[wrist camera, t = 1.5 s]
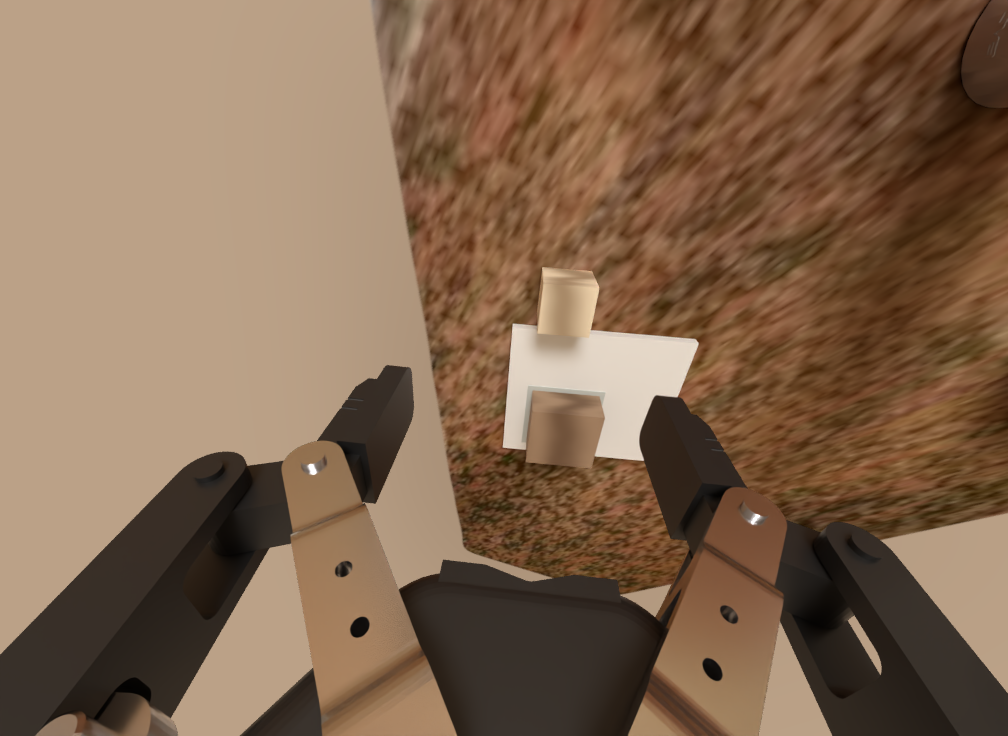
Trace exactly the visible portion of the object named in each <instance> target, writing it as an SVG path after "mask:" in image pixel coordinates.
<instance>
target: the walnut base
mask: <svg viewBox="0 0 1008 736" xmlns="http://www.w3.org/2000/svg"><path fill="white" fill-rule="evenodd" d="M604 420H605V416H604V412H603V408H602V404H601V400H600V396H591V395H580V394H569V393H558V392H546V391H535V390H533V391H532V399H531V407H530V415H529V422H528V430H527V438H526V462H529V463H540V464H550V465H561V466H571V467H582V468H592V464H593V460H594V457H595V453H596V449H597V446H598V442H599V438H600V435H601V431H602V427H603V424H604Z"/></svg>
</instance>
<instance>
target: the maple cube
mask: <svg viewBox="0 0 1008 736" xmlns="http://www.w3.org/2000/svg"><path fill="white" fill-rule="evenodd" d="M598 293H599V286H598V284H597V282H596V279H595V277H594V275H593V272H592V271H583V270H571V269H559V268H546V267H542V275H541V283H540V292H539V300H538V308H537V333H538V334H550V335H561V336H573V337H585V338H589V335H590V331H591V326H592V321H593V316H594V312H595V307H596V302H597V297H598Z"/></svg>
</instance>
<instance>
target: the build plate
mask: <svg viewBox="0 0 1008 736" xmlns="http://www.w3.org/2000/svg"><path fill="white" fill-rule="evenodd" d="M698 344H699V343H698V342H697V341H696V339H688V338H676V337H664V336H652V335H640V334H629V333H617V332H605V331H593V330H591V331H590V335H589V338H585V337H573V336H561V335H550V334H538V333H537V326H535V325H523V324H513V328H512V341H511V353H510V365H509V378H508V390H507V403H506V415H505V427H504V440H503V448H512V449H523V450H526V438H527V430H528V422H529V415H530V407H531V399H532V391H533V390H535V391H546V392H558V393H569V394H580V395H591V396H600V400H601V404H602V408H603V412H604V416H605V420H604V424H603V427H602V431H601V435H600V438H599V442H598V446H597V449H596V453H595V456H597V457H608V458H619V459H629V460H640V461H644V459H643V456H642V453H641V450H640V445H639V436H640V431H641V428H642V425H643V423H644V420H645V418H646V415H647V412H648V410H649V407H650V405H651V402H652V400H653V398H654V397H655V396H656V395H660V396H669V397H678V395H679V392H680V390H681V387H682V384H683V382H684V379H685V377H686V374H687V372H688V369H689V367H690V364H691V362H692V359H693V357H694V354H695V352H696V349H697V347H698Z"/></svg>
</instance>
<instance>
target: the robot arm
mask: <svg viewBox="0 0 1008 736" xmlns="http://www.w3.org/2000/svg"><path fill="white" fill-rule="evenodd" d="M961 76H962V83H963V87H964V89H965V91H966V93H967V95H968V97H970V98H971V99H972V100H973V101H974V102H975V103H977V104H980V105H982V106H985V107H990V108H1008V0H991V1H990V3H989V4H988V6H987V7H986V9H985V10H984V12H983V13H982V15H981V16H980V18H979V20H978V21H977V23H976V25H975V27H974V29H973V31H972V33H971V35H970V37H969V39H968V42H967V45H966V49H965V52H964V55H963V59H962V69H961ZM413 410H414V401H413V386H412V372H411V369H410V368H409V367H400V366H389V365H387V366H385V368H384V369H383V371H382V372H381V374H380V375H379V377H378V378H377V379H367V380H366V381H364V382H363V383H361V384H360V385H358V386H356V387H355V389H354V390H353V391H352V393H351V394H350V396H349V397H348V400H346V401H345V403H344V404H343V405H342V408H341V409H340V410H339V411H338V412H337V414H336V415H335V417H334V418H333V419H332V421H331V422H330V423H329V425H328V426H327V428H326V429H325V430H324V432H323V433H322V435H321V436H320V437H319V439H318V440H317V441H314V442H310V443H307V444H304V445H302V446H300V447H298V448H296V449H295V450H293V451H292V452H291V453H290V454H289V455H288V456H287V457H286V458H285V460H284V461H279V462H273V463H266V464H258V465H250V466H247V464H246V461H245V459H244V458H243V457H242V456H241V455H239V454H238V453H234V452H218V453H213V454H210V455H206V456H204V457H201V458H199V459H197V460H195V461H193V462H191V463H190V464H188V465H187V466H186V467H184V468H183V469H182V470H181V471H180V472H179V473H178V474H177V475H176V476H175V477H174V478H173V479H172V480H171V481H170V482H169V483H168V484H167V485H166V486H165V487H164V488H163V489H162V490H161V491H160V492H159V493H158V494H157V495H156V496H155V497H154V498H153V499H152V500H151V501H150V502H149V503H148V504H147V506H145V508H143V510H142V511H141V512H140V513H139V514H138V515H137V516H136V517H135V518H134V519H133V520H132V521H131V522H130V523H129V524H128V525H127V526H126V527H125V528H124V529H123V530H122V531H121V532H120V533H119V534H118V535H117V536H116V537H115V538H114V539H113V540H112V541H111V542H110V543H109V544H108V545H107V546H106V547H105V548H104V549H103V550H102V551H101V552H100V553H99V554H98V555H97V556H96V557H95V559H94V560H93V561H92V562H91V563H90V564H89V565H88V566H87V567H86V568H85V569H84V570H83V571H82V572H81V573H80V574H79V575H78V576H77V577H76V578H75V579H74V580H73V581H72V582H71V583H70V584H69V585H68V586H67V587H66V588H65V589H64V590H63V591H62V592H61V593H60V595H58V596H57V597H56V598H55V599H54V600H53V601H52V602H51V604H49V605H48V607H47V608H46V609H45V610H44V611H43V612H42V613H41V614H40V615H39V616H38V617H37V618H36V619H35V620H34V621H33V622H32V623H31V624H30V625H29V626H28V627H27V628H26V629H25V630H24V631H23V632H22V633H21V634H20V635H19V636H18V637H17V638H16V639H15V640H14V641H13V642H12V644H10V645H9V646H8V647H7V648H6V649H5V650H4V651H3V653H2V654H0V736H178V732H177V728H176V725H175V723H174V721H173V720H171V717H172V715H173V713H174V711H175V710H176V708H177V706H178V705H179V703H180V701H181V699H182V698H183V696H184V694H185V693H186V691H187V689H188V687H189V686H190V684H191V682H192V680H193V679H194V677H195V675H196V673H197V672H198V670H199V668H200V667H201V665H202V663H203V661H204V660H205V658H206V656H207V655H208V653H209V651H210V649H211V648H212V646H213V644H214V643H215V641H216V639H217V637H218V636H219V634H220V632H221V630H222V629H223V627H224V625H225V623H226V622H227V620H228V618H229V617H230V615H231V613H232V612H233V610H234V608H235V606H236V604H237V603H238V601H239V599H240V597H241V596H242V594H243V593H244V591H245V589H246V587H247V586H248V584H249V582H250V580H251V579H252V577H253V575H254V574H255V572H256V570H257V568H258V567H259V565H260V563H261V561H262V560H263V558H264V556H265V555H266V553H267V551H268V549H269V548H270V547H276V546H281V545H286V544H291V545H292V550H293V556H294V562H295V567H296V573H297V579H298V584H299V590H300V595H301V602H302V607H303V613H304V618H305V624H306V630H307V635H308V641H309V647H310V652H311V658H312V664H313V668H312V669H311V670H310V671H309V672H308V673H307V674H306V675H304V676H303V677H302V678H301V679H300V680H299V681H298V682H297V683H296V684H295V685H294V686H293V687H292V688H291V689H289V690H288V691H287V692H286V693H285V694H284V695H283V696H282V697H281V698H280V699H279V700H278V701H277V702H275V704H274V705H272V706H271V707H270V708H269V709H268V710H267V711H266V712H265V713H264V714H263V715H262V716H261V717H259V718H258V719H257V720H256V721H255V722H254V723H253V724H252V725H251V726H250V727H249V728H248V729H247V730H246V731H244V732H243V733H242V734H241V735H240V736H758V735H759V730H760V725H761V719H762V714H763V709H764V703H765V698H766V692H767V687H768V682H769V676H770V671H771V666H772V660H773V655H774V650H775V644H776V639H777V633H778V628H779V622H781V624H782V626H783V629H784V631H785V633H786V635H787V637H788V639H789V642H790V644H791V646H792V648H793V650H794V652H795V655H796V657H797V659H798V661H799V663H800V665H801V668H802V670H803V672H804V674H805V677H806V679H807V681H808V683H809V685H810V688H811V690H812V692H813V694H814V696H815V698H816V701H817V703H818V705H819V707H820V709H821V712H822V714H823V716H824V718H825V720H826V723H827V725H828V727H829V729H830V731H831V733H832V736H1008V693H1007V692H1006V691H1005V689H1004V688H1003V687H1002V686H1001V684H1000V683H999V682H998V681H997V680H996V678H995V677H994V676H993V675H992V673H991V672H990V671H989V670H988V668H987V667H986V666H985V665H984V663H983V662H982V661H981V660H980V659H979V657H978V656H977V655H976V654H975V652H974V651H973V650H972V649H971V647H970V646H969V645H968V644H967V643H966V641H965V640H964V639H963V638H962V636H961V635H960V634H959V633H958V631H957V630H956V629H955V628H954V627H953V625H952V624H951V623H950V622H949V620H948V619H947V618H946V617H945V615H944V614H943V613H942V612H941V610H940V609H939V608H938V607H937V605H936V604H935V603H934V602H933V601H932V599H931V598H930V597H929V596H928V594H927V593H926V592H925V591H924V590H923V588H922V587H921V586H920V585H919V583H918V582H917V581H916V579H915V578H914V577H913V576H912V575H911V573H910V572H909V571H908V570H907V569H906V567H905V566H904V565H903V564H902V562H901V561H900V560H899V559H898V557H897V556H896V555H895V554H894V553H893V551H892V550H891V549H889V548H888V547H887V546H886V545H885V544H884V543H883V542H882V541H880V540H879V539H878V538H876V537H875V536H873V535H872V534H870V533H869V532H867V531H865V530H863V529H861V528H859V527H856V526H854V525H851V524H848V523H843V522H833V523H830V524H829V525H828V526H827V527H826V528H825V529H824V530H823V531H822V532H818V531H815V530H812V529H810V528H807V527H804V526H801V525H798V524H796V523H793V522H790V521H788V520H786V519H785V517H784V515H783V513H782V512H781V511H780V509H779V508H778V507H777V506H776V505H775V504H774V503H773V502H771V501H770V500H769V499H767V498H766V497H764V496H763V495H761V494H759V493H757V492H755V491H753V490H750V489H747V487H746V485H745V484H744V482H743V480H742V479H741V477H740V476H739V474H738V472H737V471H736V469H735V467H734V466H733V464H732V462H731V461H730V459H729V457H728V456H727V454H726V453H725V452H723V450H724V449H723V448H722V446H721V444H720V443H719V442H718V441H717V438H716V436H715V434H714V433H713V431H712V430H711V428H710V426H708V425H707V424H706V423H705V422H704V421H703V420H702V419H701V418H699V417H698V416H697V415H693V414H691V413H690V411H689V409H688V408H687V406H686V404H685V402H684V401H683V399H682V398H679V397H669V396H660V395H656V396H655V397H654V398H653V400H652V402H651V405H650V407H649V410H648V412H647V415H646V418H645V420H644V423H643V425H642V428H641V431H640V436H639V445H640V450H641V453H642V456H643V459H644V462H645V465H646V468H647V471H648V473H649V476H650V479H651V482H652V485H653V488H654V491H655V494H656V497H657V500H658V503H659V506H660V509H661V512H662V515H663V518H664V520H665V523H666V526H667V529H668V532H669V535H670V538H671V539H678V540H687V543H688V545H689V550H688V551H687V553H686V554H685V557H684V559H683V561H682V563H681V565H680V567H679V569H678V572H677V574H676V576H675V578H674V580H673V582H672V585H671V587H670V589H669V591H668V593H667V596H666V597H665V600H664V602H663V604H662V606H661V608H660V610H659V611H658V613H657V615H656V617H654V616H653V615H651V614H650V613H649V612H648V611H646V610H645V609H643V608H642V607H641V606H639V605H638V604H636V603H634V602H633V601H631V600H629V599H627V598H625V597H622V596H620V593H619V587H618V582H617V580H612V579H604V578H595V577H587V576H578V575H571V576H565V577H559V578H552V579H546V580H540V581H533V582H530V581H525V580H523V579H520V578H517V577H515V576H512V575H510V574H508V573H505V572H503V571H500V570H498V569H495V568H493V567H490V566H488V565H483V564H474V563H467V562H457V561H450V560H443V562H442V566H441V571H440V574H434V575H430V576H426V577H423V578H420V579H418V580H416V581H413V582H411V583H409V584H407V585H406V586H404V587H402V588H400V589H399V590H398V587H397V584H396V582H395V579H394V577H393V574H392V571H391V569H390V566H389V563H388V561H387V558H386V556H385V553H384V550H383V548H382V545H381V543H380V540H379V537H378V535H377V532H376V529H375V527H374V524H373V521H372V519H371V516H370V514H369V511H368V509H367V507H366V505H365V503H364V504H363V502H366V503H376V502H377V499H378V497H379V495H380V492H381V490H382V488H383V485H384V483H385V481H386V479H387V476H388V474H389V472H390V469H391V467H392V465H393V462H394V460H395V458H396V456H397V453H398V451H399V449H400V446H401V444H402V442H403V440H404V437H405V435H406V433H407V430H408V428H409V425H410V423H411V420H412V417H413ZM854 615H855V617H856V619H857V620H858V622H859V623H860V625H861V627H862V628H863V630H864V631H865V633H866V635H867V636H868V638H869V640H870V641H871V643H872V644H873V646H874V648H875V649H876V651H877V653H878V655H879V658H880V661H881V665H882V672H881V676H880V674H879V672H878V671H877V669H876V667H875V666H874V664H873V662H872V661H871V659H870V657H869V656H868V654H867V652H866V651H865V649H864V647H863V646H862V644H861V642H860V640H859V639H858V637H857V635H856V634H855V632H854V631H853V629H852V627H851V625H850V624H849V622H848V620H849V619H850V618H851V617H852V616H854Z"/></svg>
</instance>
